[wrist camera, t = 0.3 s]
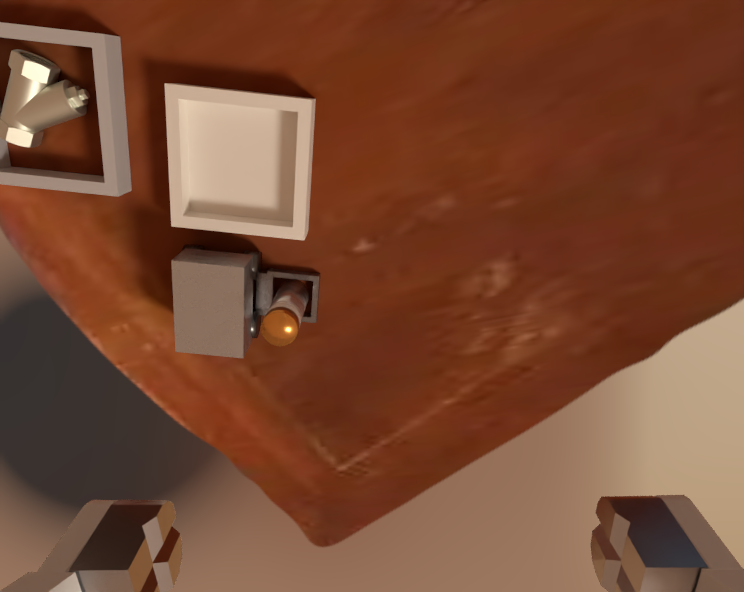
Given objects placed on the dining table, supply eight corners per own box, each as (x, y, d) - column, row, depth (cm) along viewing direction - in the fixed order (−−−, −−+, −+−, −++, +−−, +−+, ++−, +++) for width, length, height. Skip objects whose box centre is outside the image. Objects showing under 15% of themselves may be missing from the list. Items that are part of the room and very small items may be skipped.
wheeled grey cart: (190, 240, 56) (167, 260, 50) (321, 254, 56) (314, 275, 50) (192, 324, 60) (171, 351, 54) (315, 336, 60) (308, 364, 54)
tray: (176, 83, 50) (164, 83, 47) (315, 98, 50) (311, 99, 47) (181, 219, 55) (171, 226, 52) (308, 232, 55) (304, 240, 52)
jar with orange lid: (278, 277, 57) (261, 311, 49) (310, 281, 57) (298, 315, 49) (277, 306, 59) (260, 344, 50) (308, 309, 59) (296, 347, 50)
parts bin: (-26, 20, 48) (-51, 16, 45) (120, 36, 48) (104, 33, 45) (1, 176, 53) (-20, 182, 51) (131, 190, 54) (118, 196, 51)
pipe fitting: (101, 85, 50) (29, 49, 49) (83, 87, 47) (5, 49, 45) (79, 159, 53) (10, 128, 52) (60, 166, 50) (-14, 133, 48)
